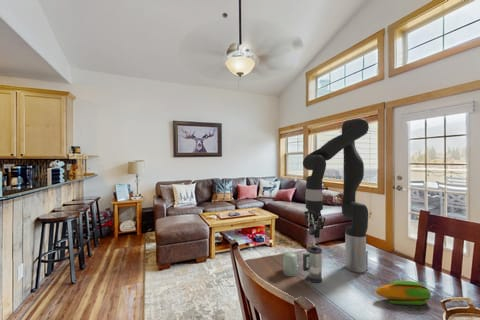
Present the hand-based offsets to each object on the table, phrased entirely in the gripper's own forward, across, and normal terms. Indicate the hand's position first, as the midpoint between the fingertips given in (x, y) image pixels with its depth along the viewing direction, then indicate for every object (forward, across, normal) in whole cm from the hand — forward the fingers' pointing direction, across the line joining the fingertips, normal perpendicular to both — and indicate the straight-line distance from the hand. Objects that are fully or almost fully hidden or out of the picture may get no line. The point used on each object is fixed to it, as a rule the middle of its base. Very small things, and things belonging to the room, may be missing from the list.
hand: (314, 235), depth 101 cm
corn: (+20, -22, -24) cm, 39 cm away
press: (+20, 0, 0) cm, 20 cm away
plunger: (+9, 0, 0) cm, 9 cm away
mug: (+20, +8, +8) cm, 23 cm away
